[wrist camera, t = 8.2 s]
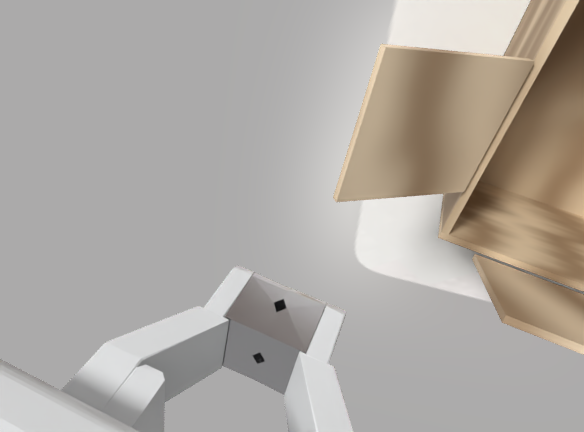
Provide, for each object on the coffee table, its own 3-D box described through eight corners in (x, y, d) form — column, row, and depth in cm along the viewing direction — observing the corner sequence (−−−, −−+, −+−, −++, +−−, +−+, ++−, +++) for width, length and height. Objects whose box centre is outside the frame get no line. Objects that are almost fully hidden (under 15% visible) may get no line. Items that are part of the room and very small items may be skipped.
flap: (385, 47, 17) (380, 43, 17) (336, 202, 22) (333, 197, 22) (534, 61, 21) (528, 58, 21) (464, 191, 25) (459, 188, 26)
